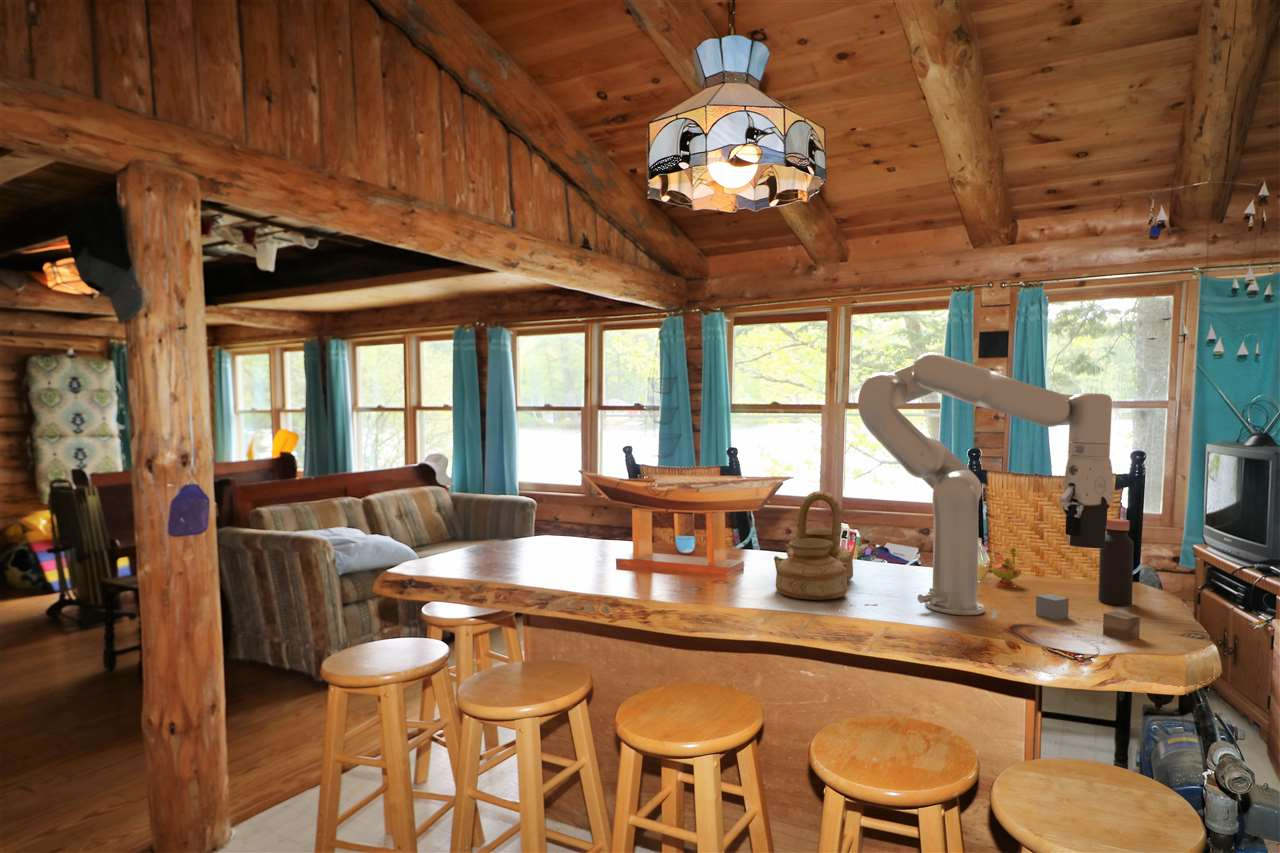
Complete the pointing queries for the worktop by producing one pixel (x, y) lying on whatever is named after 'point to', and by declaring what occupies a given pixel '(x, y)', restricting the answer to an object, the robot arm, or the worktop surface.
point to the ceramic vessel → (815, 557)
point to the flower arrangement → (1005, 569)
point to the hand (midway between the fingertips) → (1084, 533)
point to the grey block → (1052, 606)
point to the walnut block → (1121, 625)
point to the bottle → (1116, 564)
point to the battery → (1091, 526)
